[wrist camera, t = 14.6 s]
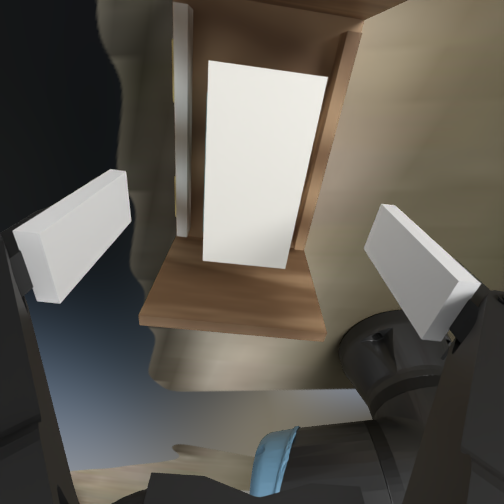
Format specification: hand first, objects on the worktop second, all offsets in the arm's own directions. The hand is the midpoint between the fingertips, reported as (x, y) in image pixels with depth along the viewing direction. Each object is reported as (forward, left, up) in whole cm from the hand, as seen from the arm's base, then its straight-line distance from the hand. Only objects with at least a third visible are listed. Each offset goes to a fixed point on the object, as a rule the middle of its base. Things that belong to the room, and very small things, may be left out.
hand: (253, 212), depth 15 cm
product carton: (0, 0, -13) cm, 13 cm away
